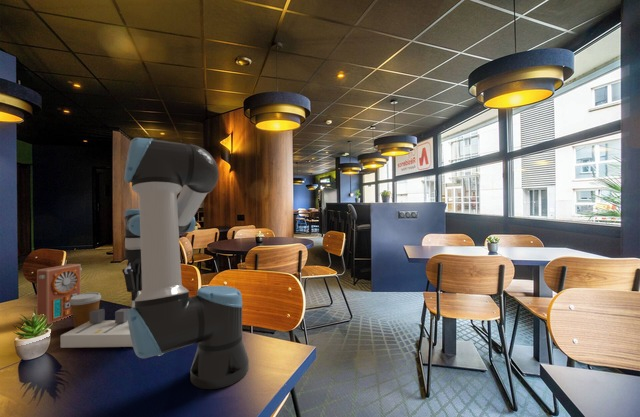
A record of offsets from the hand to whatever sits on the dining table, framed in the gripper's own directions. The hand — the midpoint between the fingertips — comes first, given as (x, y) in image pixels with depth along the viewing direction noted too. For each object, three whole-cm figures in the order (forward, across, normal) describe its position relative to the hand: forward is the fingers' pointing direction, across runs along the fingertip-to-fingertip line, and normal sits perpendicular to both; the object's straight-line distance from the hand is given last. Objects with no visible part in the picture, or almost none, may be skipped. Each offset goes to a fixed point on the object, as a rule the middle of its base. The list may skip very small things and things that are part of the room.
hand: (136, 307), depth 108 cm
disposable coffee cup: (+7, +2, -18) cm, 19 cm away
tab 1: (+2, +8, -9) cm, 12 cm away
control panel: (+7, -7, -36) cm, 37 cm away
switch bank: (+6, +12, 0) cm, 14 cm away
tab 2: (+2, +8, 0) cm, 8 cm away
